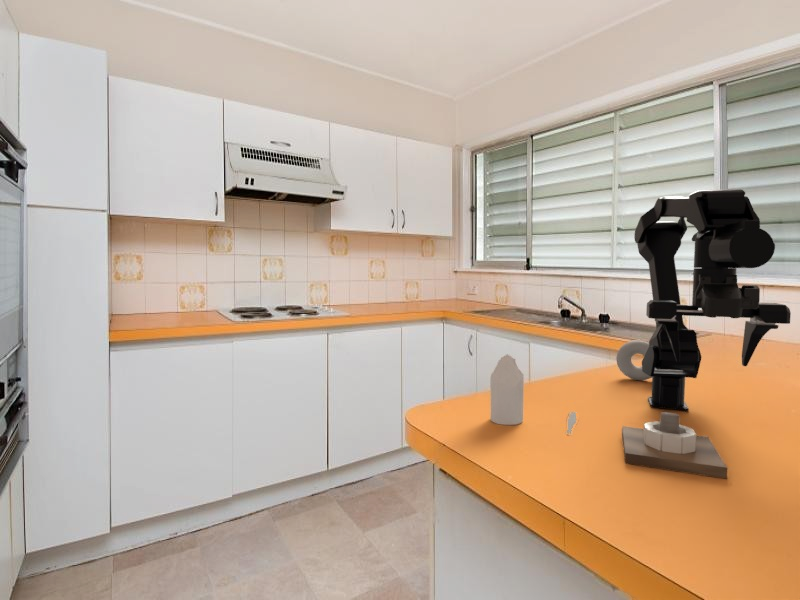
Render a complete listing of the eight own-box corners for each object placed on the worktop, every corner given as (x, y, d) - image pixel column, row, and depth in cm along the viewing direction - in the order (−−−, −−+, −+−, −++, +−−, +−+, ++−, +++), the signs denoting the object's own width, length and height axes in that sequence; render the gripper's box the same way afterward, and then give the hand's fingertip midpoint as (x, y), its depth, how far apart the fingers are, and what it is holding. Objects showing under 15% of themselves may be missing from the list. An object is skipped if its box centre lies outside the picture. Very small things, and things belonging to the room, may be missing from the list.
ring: (642, 434, 72) (643, 419, 72) (690, 440, 69) (690, 425, 69) (645, 448, 66) (646, 432, 66) (698, 456, 64) (698, 439, 63)
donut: (614, 379, 114) (615, 339, 114) (616, 376, 117) (617, 337, 116) (660, 384, 109) (662, 342, 108) (661, 381, 112) (663, 340, 111)
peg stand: (621, 435, 76) (623, 399, 75) (707, 446, 71) (709, 408, 71) (625, 463, 65) (626, 421, 64) (726, 478, 60) (729, 434, 60)
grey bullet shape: (497, 358, 79) (485, 352, 85) (496, 426, 80) (485, 416, 86) (529, 357, 80) (516, 351, 86) (528, 424, 81) (515, 414, 87)
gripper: (653, 268, 71) (650, 368, 72) (808, 268, 63) (801, 380, 64) (647, 268, 81) (644, 355, 82) (780, 268, 73) (774, 364, 74)
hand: (710, 363), depth 75 cm, fingers open, 9 cm apart
